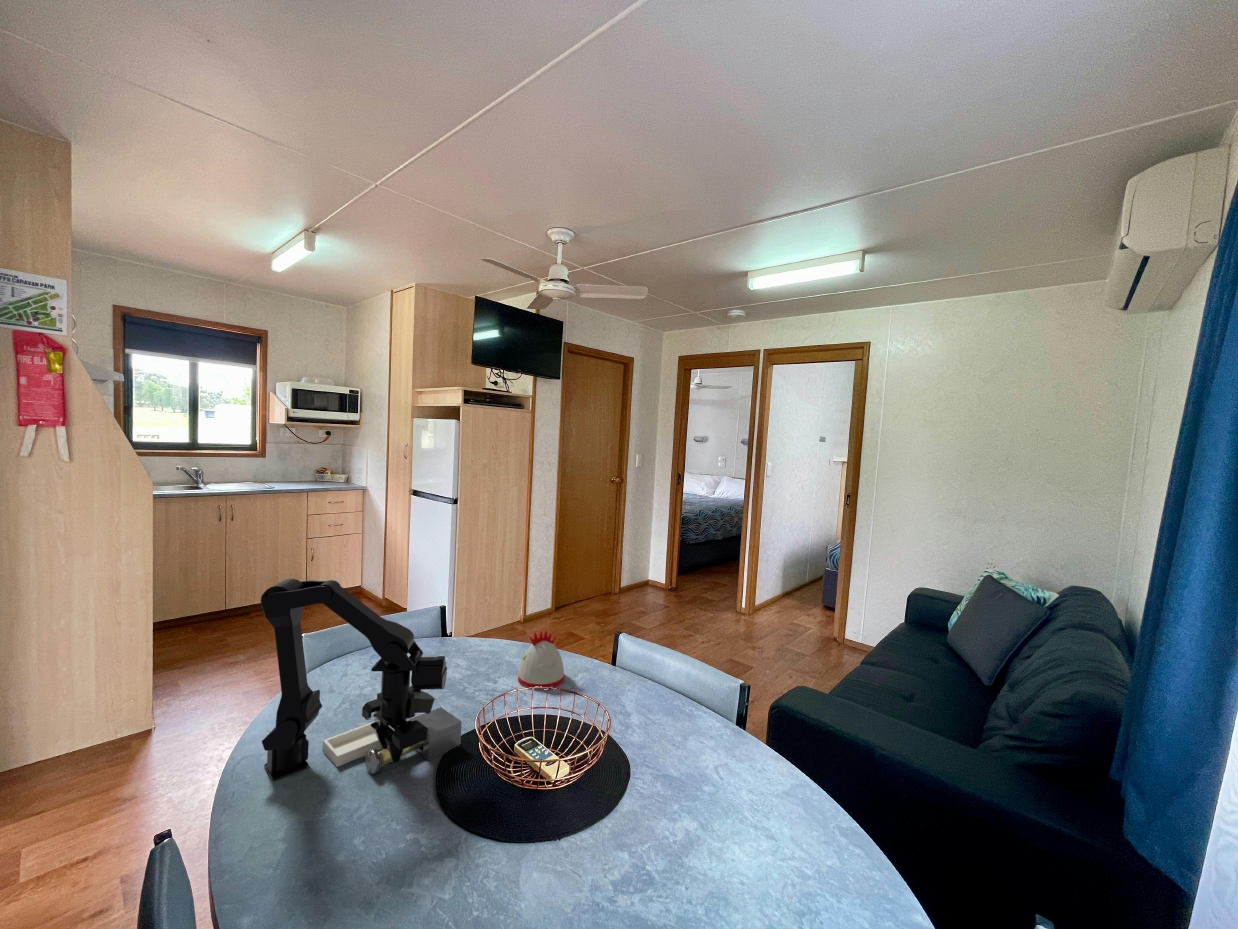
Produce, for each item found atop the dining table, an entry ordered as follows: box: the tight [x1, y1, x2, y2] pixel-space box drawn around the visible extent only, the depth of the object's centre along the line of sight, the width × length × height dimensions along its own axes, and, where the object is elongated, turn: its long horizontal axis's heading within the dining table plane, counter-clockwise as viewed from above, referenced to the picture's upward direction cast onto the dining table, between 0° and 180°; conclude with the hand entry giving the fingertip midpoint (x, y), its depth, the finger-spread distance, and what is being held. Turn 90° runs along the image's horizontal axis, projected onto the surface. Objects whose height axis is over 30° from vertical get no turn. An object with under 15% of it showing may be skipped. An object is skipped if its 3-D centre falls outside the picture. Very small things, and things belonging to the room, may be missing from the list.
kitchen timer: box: [517, 629, 565, 688], centre depth 153 cm, size 14×14×15 cm
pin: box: [364, 741, 424, 775], centre depth 111 cm, size 13×5×5 cm, turn 139°
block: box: [409, 706, 463, 762], centre depth 117 cm, size 8×9×6 cm
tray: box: [322, 718, 409, 768], centre depth 117 cm, size 17×8×2 cm, turn 139°
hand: (392, 759), depth 110 cm, fingers closed on pin, 3 cm apart
